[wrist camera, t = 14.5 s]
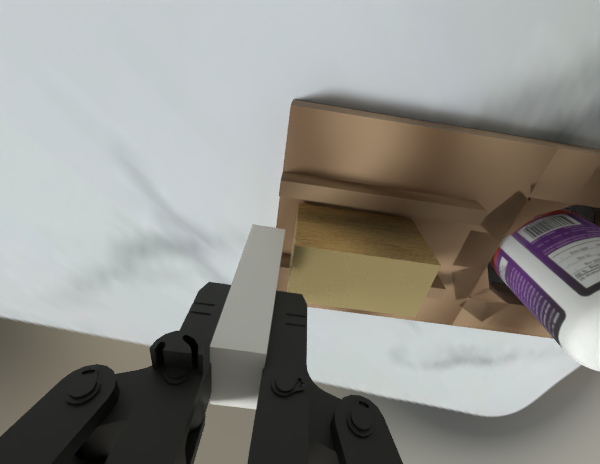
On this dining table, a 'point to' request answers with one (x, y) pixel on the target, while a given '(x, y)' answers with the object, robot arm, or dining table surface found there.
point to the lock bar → (360, 260)
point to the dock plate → (435, 197)
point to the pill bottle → (557, 279)
